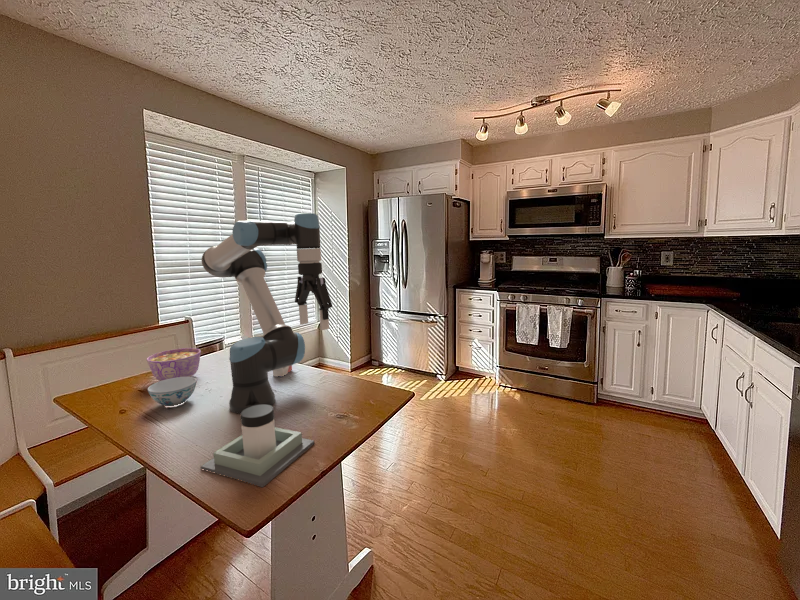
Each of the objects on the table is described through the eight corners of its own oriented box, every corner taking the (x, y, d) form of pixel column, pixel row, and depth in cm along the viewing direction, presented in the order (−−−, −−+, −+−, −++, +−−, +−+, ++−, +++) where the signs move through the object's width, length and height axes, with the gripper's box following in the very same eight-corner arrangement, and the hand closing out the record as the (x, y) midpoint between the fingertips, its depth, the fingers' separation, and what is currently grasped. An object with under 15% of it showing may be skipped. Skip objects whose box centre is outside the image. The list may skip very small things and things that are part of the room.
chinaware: (141, 409, 131) (138, 388, 129) (181, 393, 144) (179, 374, 143) (167, 416, 124) (165, 394, 123) (207, 399, 138) (205, 379, 136)
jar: (269, 441, 104) (265, 401, 102) (284, 451, 98) (281, 408, 97) (237, 455, 97) (233, 412, 95) (252, 466, 92) (248, 421, 90)
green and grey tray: (201, 469, 93) (199, 455, 92) (259, 432, 111) (257, 419, 111) (262, 487, 85) (261, 471, 85) (314, 443, 104) (313, 430, 103)
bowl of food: (165, 392, 146) (161, 364, 144) (140, 383, 156) (137, 357, 155) (213, 376, 162) (210, 351, 161) (188, 369, 173) (185, 345, 171)
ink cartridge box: (282, 370, 168) (279, 338, 166) (292, 370, 167) (289, 338, 165) (272, 376, 160) (269, 343, 158) (282, 377, 159) (280, 343, 157)
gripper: (340, 261, 112) (344, 329, 116) (301, 261, 131) (306, 319, 134) (319, 263, 107) (323, 334, 111) (281, 262, 126) (286, 323, 129)
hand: (314, 326), depth 122 cm, fingers open, 13 cm apart
